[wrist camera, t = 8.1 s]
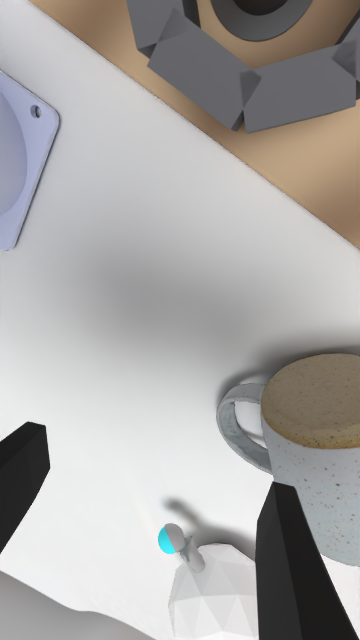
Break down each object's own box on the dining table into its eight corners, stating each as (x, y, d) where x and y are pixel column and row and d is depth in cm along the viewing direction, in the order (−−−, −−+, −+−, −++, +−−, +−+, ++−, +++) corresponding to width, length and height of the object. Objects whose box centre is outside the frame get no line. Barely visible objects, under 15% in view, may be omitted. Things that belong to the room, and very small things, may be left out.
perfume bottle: (197, 633, 30) (113, 540, 29) (264, 565, 32) (187, 472, 30) (229, 740, 23) (116, 621, 21) (316, 644, 24) (217, 525, 22)
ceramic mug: (387, 332, 18) (457, 443, 11) (400, 441, 21) (461, 577, 14) (202, 364, 21) (176, 463, 15) (237, 453, 24) (227, 567, 18)
